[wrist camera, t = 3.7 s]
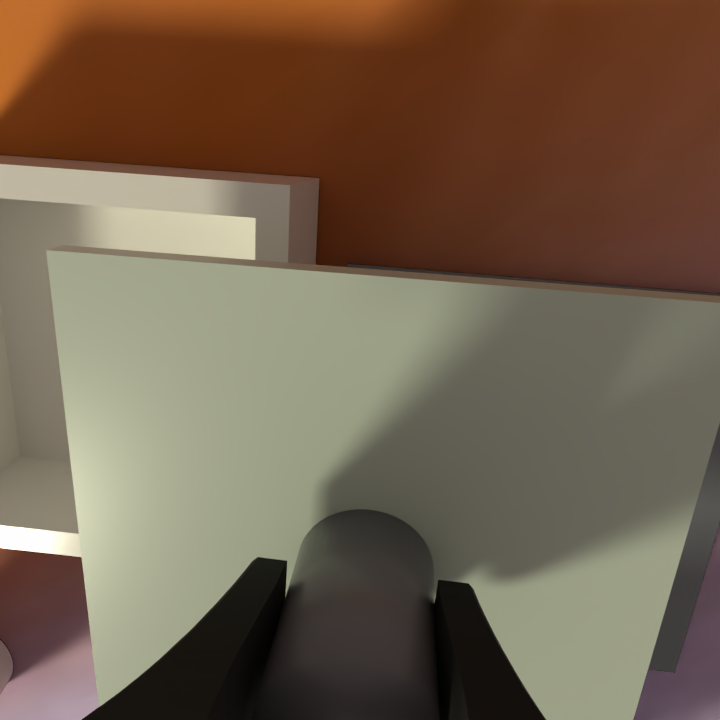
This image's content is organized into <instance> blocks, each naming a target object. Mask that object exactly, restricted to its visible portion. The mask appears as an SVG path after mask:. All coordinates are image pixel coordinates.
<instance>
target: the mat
mask: <svg viewBox="0 0 720 720" xmlns="http://www.w3.org/2000/svg"><path fill="white" fill-rule="evenodd" d="M346 267H352V268H365V269H378V270H391V271H403V272H416V273H429V274H442V275H455V276H468V277H481V278H493V279H506V280H519V281H532V282H545V283H558V284H571V285H584V286H596V287H609V288H622V289H635V290H648V291H661V292H674V293H686V294H699V295H712V296H720V294H716V293H704V292H691V291H679V290H667V289H654V288H642V287H630V286H617V285H605V284H593V283H580V282H568V281H556V280H543V279H531V278H519V277H506V276H494V275H482V274H469V273H457V272H445V271H432V270H420V269H408V268H395V267H383V266H371V265H358V264H347V265H346ZM719 524H720V424H719V427H718V430H717V434H716V437H715V441H714V444H713V448H712V451H711V454H710V458H709V461H708V465H707V468H706V472H705V475H704V479H703V482H702V485H701V489H700V492H699V496H698V499H697V503H696V506H695V509H694V513H693V516H692V520H691V523H690V527H689V530H688V534H687V537H686V540H685V544H684V547H683V551H682V554H681V558H680V561H679V564H678V568H677V571H676V575H675V578H674V582H673V585H672V589H671V592H670V595H669V599H668V602H667V606H666V609H665V613H664V616H663V619H662V623H661V626H660V630H659V633H658V637H657V640H656V644H655V647H654V650H653V654H652V657H651V661H650V664H649V668H648V669H649V670H658V671H666V672H675V670H676V667H677V664H678V660H679V657H680V654H681V650H682V647H683V644H684V640H685V637H686V634H687V630H688V627H689V624H690V620H691V617H692V614H693V610H694V607H695V604H696V600H697V597H698V594H699V590H700V587H701V584H702V580H703V577H704V574H705V570H706V567H707V564H708V560H709V557H710V554H711V550H712V547H713V544H714V540H715V537H716V534H717V530H718V527H719Z"/></svg>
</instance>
